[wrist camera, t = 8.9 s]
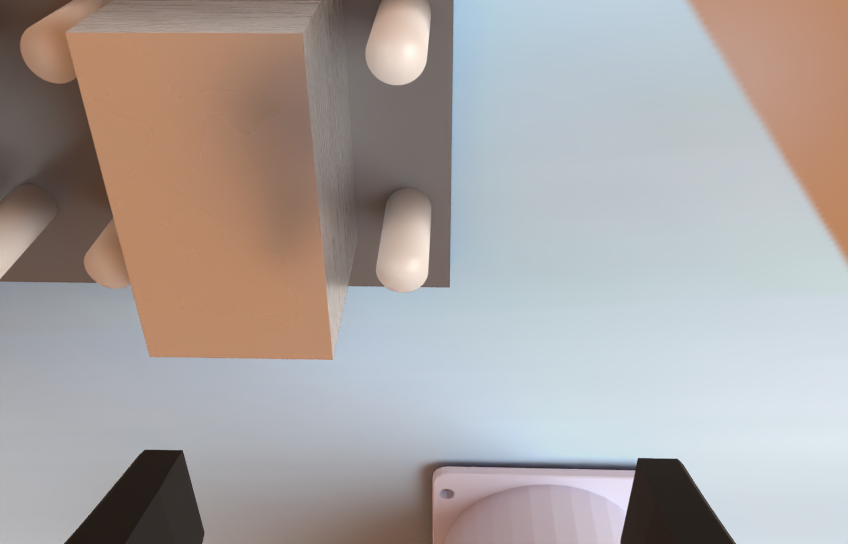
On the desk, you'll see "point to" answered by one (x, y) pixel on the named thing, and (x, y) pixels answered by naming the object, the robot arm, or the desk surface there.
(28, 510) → the desk surface
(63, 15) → the grey peg board
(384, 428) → the desk surface
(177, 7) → the tan rectangular block
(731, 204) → the desk surface
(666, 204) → the desk surface
